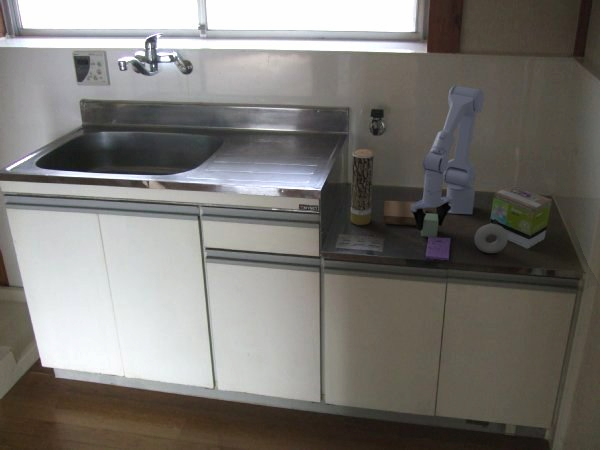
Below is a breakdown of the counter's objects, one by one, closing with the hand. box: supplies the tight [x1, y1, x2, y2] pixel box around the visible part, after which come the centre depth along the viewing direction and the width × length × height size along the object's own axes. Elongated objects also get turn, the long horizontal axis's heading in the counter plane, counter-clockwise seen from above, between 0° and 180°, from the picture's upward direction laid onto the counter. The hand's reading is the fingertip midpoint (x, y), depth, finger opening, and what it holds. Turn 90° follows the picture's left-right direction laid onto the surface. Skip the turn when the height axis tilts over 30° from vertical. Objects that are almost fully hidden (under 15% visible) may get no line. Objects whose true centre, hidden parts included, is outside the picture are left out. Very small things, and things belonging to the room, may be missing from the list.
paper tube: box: [350, 148, 374, 226], centre depth 213 cm, size 7×7×25 cm
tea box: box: [489, 184, 553, 250], centre depth 205 cm, size 15×10×15 cm
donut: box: [474, 223, 509, 254], centre depth 197 cm, size 10×3×10 cm, turn 82°
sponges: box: [425, 236, 451, 261], centre depth 201 cm, size 7×13×2 cm, turn 166°
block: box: [420, 212, 439, 238], centre depth 210 cm, size 5×5×6 cm
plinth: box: [382, 200, 426, 226], centre depth 221 cm, size 14×12×3 cm
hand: (429, 226), depth 210 cm, fingers open, 7 cm apart
